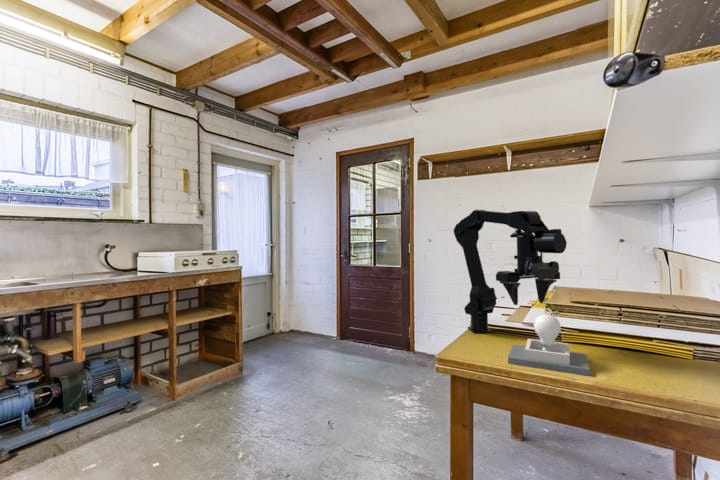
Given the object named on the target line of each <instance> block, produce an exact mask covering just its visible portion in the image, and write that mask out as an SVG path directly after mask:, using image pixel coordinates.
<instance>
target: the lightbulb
mask: <svg viewBox="0 0 720 480" xmlns="http://www.w3.org/2000/svg"><path fill="white" fill-rule="evenodd" d="M561 329H562V328H561V323H560V321H559V320H558V318H556V317H555V316H554V315H551V314H544V313H543V314H540V315H538V316H537V317H535V319H534V321H533V330H534V332H535V333H536V335H537V336H538V337H539V340H540V342H541V343H542V351H550V352H553V344H554V342H556V341H555V340H556V338H557V337H558V336H559V334H560V333H561Z"/></svg>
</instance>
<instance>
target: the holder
mask: <svg viewBox="0 0 720 480" xmlns="http://www.w3.org/2000/svg"><path fill="white" fill-rule="evenodd" d="M507 363H508V364H510V365H511V364H512V365H518V366H523V367H528V368H529V367H530V368H537V369H545V370H548V371H549V370H550V371H556V372H560V373H561V372H562V373H568V374H573V375H575V374H576V375H582V376H587V377H588V376H589V377H590V375H591V372H590V365H589V360H588V356H587V353H582V352H576V351H575V352H574V351H570V346H569V343H567V342H560V341H559V342H558V341H555V342H554V344H553V352H550V351H542V343H541V342H540V339H532V338H527V341H526V344H525V345H523V344H522V345H520V344H512V346H511V348H510V351H509V354H508V357H507Z"/></svg>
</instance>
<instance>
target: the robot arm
mask: <svg viewBox="0 0 720 480" xmlns="http://www.w3.org/2000/svg"><path fill="white" fill-rule="evenodd" d="M541 218H542V217H541V216H540V214H539V212H537V211H535V210H517V211H510V212H504V211H503V212H502V211H492V210H491V211H489V210H486V209H485V210H484V209H475V210H473V211H472V212H471V213H470V214H468V215H467V216H465V217H463V219H461V220H460V221H459V222H458V223H456V225H455V226H454V228H453V234H454V237H455V240H456V242H457V243H458V244H459V245H460V246H461V248H462V251H463V255H464V259H465V262H466V263H465V264H466V268H467V271H468V275H469V281H470V283H471V284H470V285H471V288H470V292H469V302H468V303H467V304H466V305H465V306H464V313H465V314H466V315H470V326H467V330H469V331H470V332H471V333H473V334H484V333H488V334H489V333H493V331H492V329H490V328H489V323H488V322H489V321H488V320H489V317H488V314H492V313H493V312H494V309H495V307H496V305H497V300H498V298H497V296H496V293H495V292H496V291H495V288H494V287H490V286H489V285H488V284H487V282H486V281H487V280H486V276H485V273H484V269H483V265H482V261H481V257H480V254H479V249H478V241H479V238H480V235H479V232H480V231H481V230H482V229H483V228H484V224H485V223H491V224H492V223H493V224H500V225H506V226H508V227H509V228H512V229H514V230H515V231H514V232H513V233H511V234H510V236H509V237H510V238H516V255H514V256H513V259H514V260H516V264H517V265H516V267H517V268H514V271H511V270H502V271H501V270H500V271H497V272H496V274H495V281H497V282H499V283H500V284H502V285H503V288H504V289H505V290H506V292H507V293H508V296H509V298H510V299H511V301H512V303H513V305H514V306H518V303H519V302H518V301H519V295H518V293H519V291H518V290H519V287H520V286H521V282H519V281H520V280H522V279H534V281H535V287H536V294H537V298H538V301H539V303H544V301H545V299H546V296H547V293H548V291H549V288H550V286H551V285H552V284H554V283H557V281H558V280H561V272H560V266H559V265H560V263H559V262H558V261H556V260H555V261H549V262H545V261H543V257H542V255H539V253H540V254H563V253H564V252H565V250H566V248H567V240H566V237H565V235H564V234H563V233H562V229H561V228H554V229H552V228H551V229H549V228H548V227H547V225H546V224H545V223H544V221H543V220H542V219H541Z"/></svg>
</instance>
